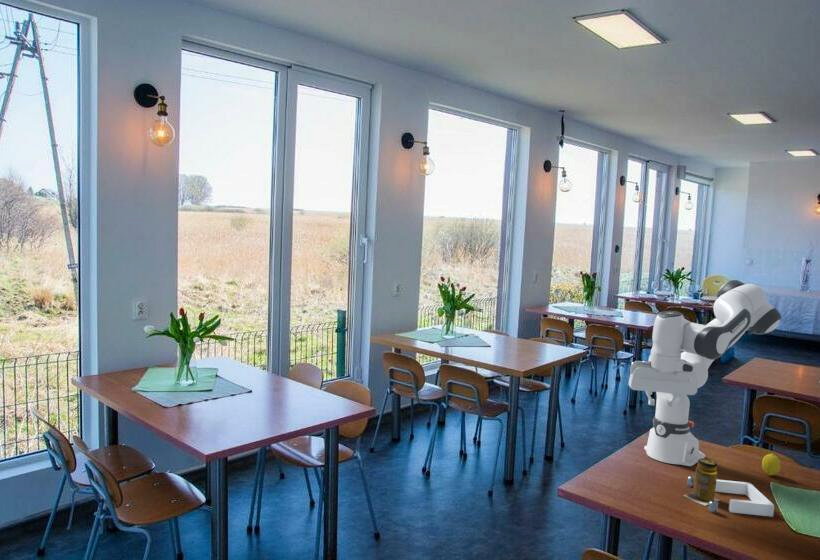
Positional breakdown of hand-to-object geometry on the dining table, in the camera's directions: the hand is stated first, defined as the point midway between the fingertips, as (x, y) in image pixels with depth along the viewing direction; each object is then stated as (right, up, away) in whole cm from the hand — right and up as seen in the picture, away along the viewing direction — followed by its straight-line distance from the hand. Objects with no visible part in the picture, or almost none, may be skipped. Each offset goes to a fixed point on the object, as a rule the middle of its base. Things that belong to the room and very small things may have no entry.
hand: (660, 405), depth 191 cm
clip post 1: (+13, -28, +6) cm, 31 cm away
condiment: (+12, -29, -3) cm, 31 cm away
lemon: (+46, -29, +19) cm, 58 cm away
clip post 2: (+11, -29, -12) cm, 33 cm away
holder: (+23, -29, -4) cm, 37 cm away
